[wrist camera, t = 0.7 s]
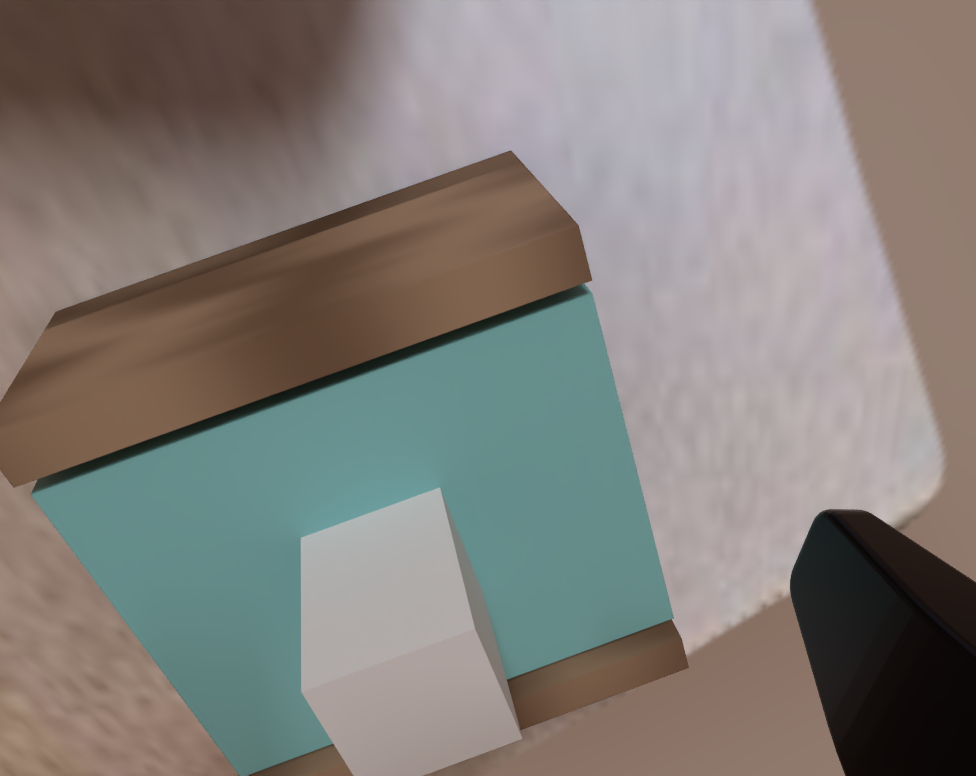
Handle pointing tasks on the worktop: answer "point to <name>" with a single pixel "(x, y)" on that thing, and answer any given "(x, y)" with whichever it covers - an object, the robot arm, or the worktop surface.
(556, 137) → the worktop surface
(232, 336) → the walnut box
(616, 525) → the cover plate
